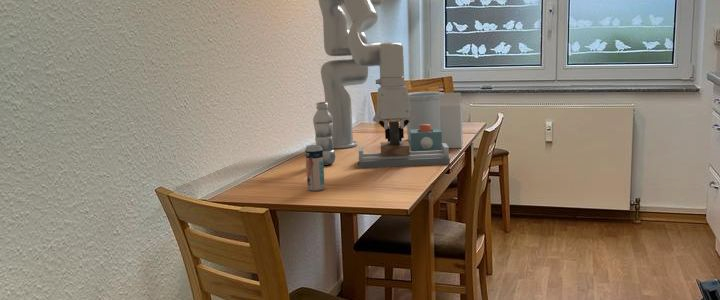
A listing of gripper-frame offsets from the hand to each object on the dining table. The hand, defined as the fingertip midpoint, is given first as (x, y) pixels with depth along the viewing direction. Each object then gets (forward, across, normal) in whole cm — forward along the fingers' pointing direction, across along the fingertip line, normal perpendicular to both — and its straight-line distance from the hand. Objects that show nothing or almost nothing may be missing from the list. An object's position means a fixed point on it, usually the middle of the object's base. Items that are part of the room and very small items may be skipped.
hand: (394, 140), depth 224 cm
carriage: (+4, 0, 0) cm, 4 cm away
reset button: (+2, +10, +13) cm, 17 cm away
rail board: (+7, +3, 0) cm, 8 cm away
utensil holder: (+8, +12, +45) cm, 47 cm away
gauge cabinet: (+7, +10, +13) cm, 18 cm away
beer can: (+7, -22, -34) cm, 41 cm away
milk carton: (+7, +20, +26) cm, 34 cm away
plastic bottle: (+7, -22, +2) cm, 24 cm away
